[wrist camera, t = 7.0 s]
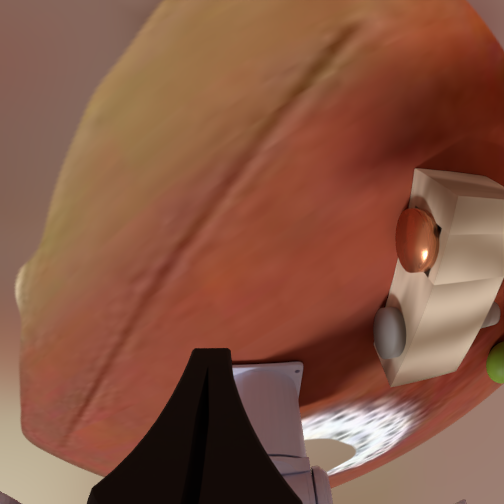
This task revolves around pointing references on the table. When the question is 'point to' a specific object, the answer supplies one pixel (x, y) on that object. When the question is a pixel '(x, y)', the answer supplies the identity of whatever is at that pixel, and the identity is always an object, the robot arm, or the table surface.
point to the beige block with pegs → (445, 280)
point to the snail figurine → (496, 363)
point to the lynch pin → (417, 240)
